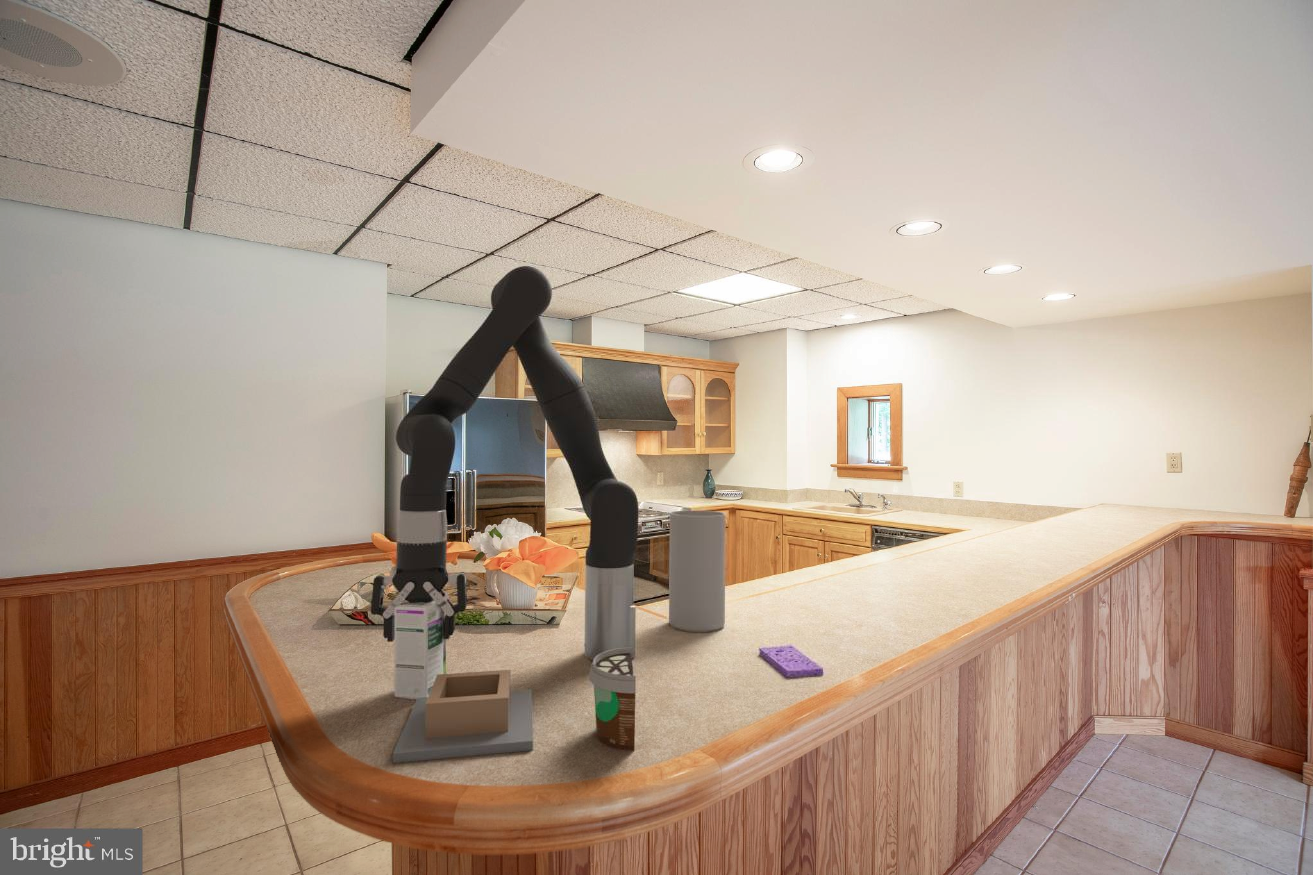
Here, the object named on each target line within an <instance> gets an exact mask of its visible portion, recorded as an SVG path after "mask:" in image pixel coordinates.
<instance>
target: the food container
mask: <svg viewBox="0 0 1313 875" xmlns="http://www.w3.org/2000/svg"><path fill="white" fill-rule="evenodd" d="M632 659H633V658H632V647H627V648H618V649H613V650H608V651H605V652H603V653H601V654H599V655H597V656H596V657H595V658H594V660H592V663H591V665H590V669H589V674H588V680H589V681H590V684H592V685H593V692H594V709H595V710H594V711H595V727H596V729H595V730H596V738H597V740H598V741H599V743H601V744H603V746H606V747H607V748H612V749H614V750H615V749H616V750H620V751H635V746H636V744H635V737H636V733H635V730H636V690H637V689H636V687H637V686H636V680H637V678H636V675H634V667H633V660H632Z"/></svg>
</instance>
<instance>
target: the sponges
mask: <svg viewBox="0 0 1313 875" xmlns="http://www.w3.org/2000/svg"><path fill="white" fill-rule="evenodd" d="M758 649H759V656H760V657H762V658H763V659H764V660H766V661H767V662H768V664H770V665H772V667H774V668H775V669H776V670H778V672H779V673H781V674H782V675H784V676H785V677H786V678H790V679H794V678H803V677H808V676H811V677H814V676H823V675H824V667H822V666H821V665H820V664H817V662H815V661H813V660H812V659H811V658H809V657H808V656H806V654H803V652H801V651H800V650H799V649H798V648H796V647H795V646H794V645H792V644H789V645H787V644H786V645H779V646H771V647H769V646H767V647H766V646H765V647H759V648H758Z"/></svg>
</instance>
